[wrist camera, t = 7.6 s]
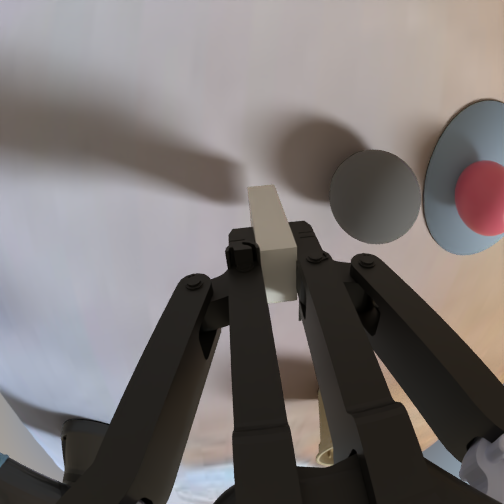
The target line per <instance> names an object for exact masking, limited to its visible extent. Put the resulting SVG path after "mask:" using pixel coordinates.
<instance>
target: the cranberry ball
mask: <svg viewBox="0 0 504 504" xmlns="http://www.w3.org/2000/svg"><path fill="white" fill-rule="evenodd" d="M455 204H456V208H457V211H458V214H459V216H460V218H461V219H462V221H463V222H464V224H465V225H466V226H467V227H468V228H469V229H471V230H472V231H474V232H475V233H477V234H480V235H483V236H496V235H499V234H502V233H504V166H502V165H501V164H499V163H496V162H494V161H489V160H482V161H477V162H474V163H472V164H471V165H469V166H468V167H467V168H465V169H464V170H463V172H462V173H461V174H460V176H459V178H458V180H457V183H456V187H455Z"/></svg>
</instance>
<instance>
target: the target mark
mask: <svg viewBox="0 0 504 504" xmlns="http://www.w3.org/2000/svg"><path fill="white" fill-rule="evenodd" d="M482 160H489V161H494V162H496V163H499V164H501V165H502V166H504V103H501V102H498V101H492V100H489V101H481V102H477V103H475V104H473V105H471V106H469V107H467V108H466V109H464V110H463V111H461V112H460V113H459V114H458V115H457V116H456V117H455V118H454V119H453V120H452V121H451V122H450V124H449V125H448V126H447V127H446V129H445V131H444V132H443V134H442V135H441V137H440V139H439V141H438V143H437V145H436V147H435V149H434V151H433V154H432V157H431V159H430V162H429V166H428V170H427V174H426V179H425V185H424V212H425V218H426V222H427V226H428V228H429V231H430V233H431V235H432V236H433V238H434V240H435V241H436V242H437V243H438V244H439V245H440V246H441V247H442V248H443V249H445V250H446V251H448V252H450V253H453V254H457V255H471V254H475V253H478V252H481V251H483V250H485V249H487V248H489V247H491V246H492V245H494V244H495V243H496V242H498V241H499V240H500V239H501V238H502V237H503V236H504V233H502V234H499V235H496V236H483V235H480V234H477V233H475V232H474V231H472V230H471V229H469V228H468V227H467V226H466V225H465V224H464V222H463V221H462V219H461V218H460V216H459V214H458V211H457V208H456V204H455V187H456V183H457V180H458V178H459V176H460V174H461V173H462V172H463V170H464V169H465V168H467V167H468V166H469V165H471V164H472V163H474V162H477V161H482Z"/></svg>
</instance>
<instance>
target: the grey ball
mask: <svg viewBox="0 0 504 504" xmlns="http://www.w3.org/2000/svg"><path fill="white" fill-rule="evenodd" d="M329 198H330V206H331V210H332V212H333V215H334V217H335V219H336V221H337V222H338V224H339V225H340V227H341V228H342V229H343V230H344V231H345V232H346V233H347V234H349V235H350V236H352V237H353V238H355V239H357V240H359V241H362V242H365V243H369V244H384V243H389V242H392V241H394V240H396V239H398V238H400V237H401V236H403V235H404V234H405V233H406V232H407V231H408V230H409V229H410V228H411V227H412V225H413V224H414V222H415V221H416V218H417V216H418V213H419V210H420V204H421V193H420V187H419V184H418V181H417V178H416V176H415V174H414V173H413V171H412V170H411V168H410V167H409V166H408V165H407V164H406V163H405V162H404V161H403V160H402V159H400V158H399V157H397V156H396V155H394V154H391V153H389V152H386V151H382V150H366V151H361V152H358V153H356V154H354V155H352V156H350V157H349V158H347V159H346V160H345V161H344V162H343V163H342V164H341V165H340V166H339V167H338V169H337V170H336V172H335V174H334V176H333V179H332V181H331V185H330V191H329Z"/></svg>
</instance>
